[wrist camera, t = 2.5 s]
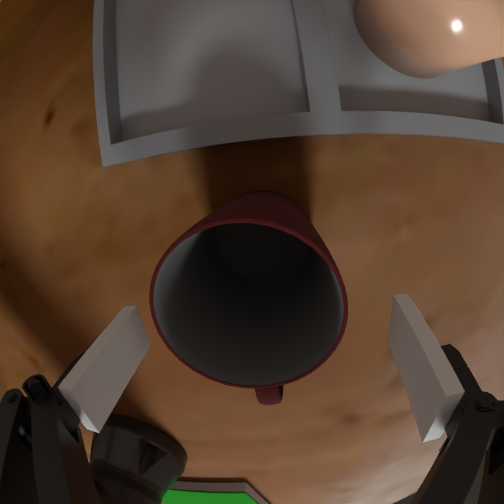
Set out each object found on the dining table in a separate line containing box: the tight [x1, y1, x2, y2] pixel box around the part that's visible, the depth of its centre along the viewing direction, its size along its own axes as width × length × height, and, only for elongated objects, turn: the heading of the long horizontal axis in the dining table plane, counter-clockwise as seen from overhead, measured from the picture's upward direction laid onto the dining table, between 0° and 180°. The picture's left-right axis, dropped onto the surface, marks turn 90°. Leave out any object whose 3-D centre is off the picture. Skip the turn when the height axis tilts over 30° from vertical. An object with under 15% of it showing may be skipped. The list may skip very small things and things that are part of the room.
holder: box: [93, 0, 504, 167], centre depth 15 cm, size 32×18×3 cm, turn 97°
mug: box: [149, 191, 348, 405], centre depth 18 cm, size 12×9×11 cm
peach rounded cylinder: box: [354, 0, 504, 79], centre depth 11 cm, size 9×9×9 cm
